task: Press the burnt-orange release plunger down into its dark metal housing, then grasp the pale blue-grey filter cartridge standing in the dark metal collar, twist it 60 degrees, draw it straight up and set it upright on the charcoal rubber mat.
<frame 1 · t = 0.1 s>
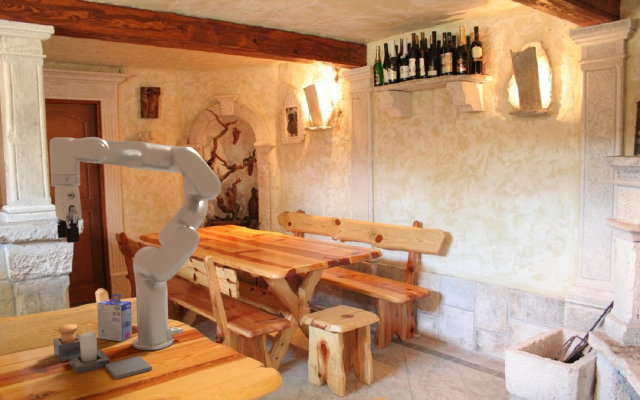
hand: (68, 239, 156), 37 cm above the table, tool pointing down, fingers open, 9 cm apart
plunger housing: (69, 355, 164), on the table
collar: (89, 364, 157), on the table
plunger: (68, 335, 163), point 6 cm above the table, slide at 0.0 cm
cartridge: (88, 349, 157), in the collar
mat: (128, 368, 154), on the table
ink cartridge box: (115, 338, 179), on the table
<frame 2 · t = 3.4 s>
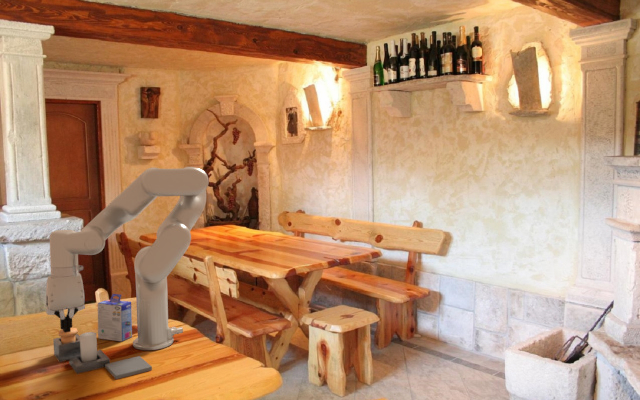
hand: (66, 330, 163), 8 cm above the table, tool pointing down, fingers closed
plunger: (68, 339, 163), point 5 cm above the table, slide at 1.2 cm, touching gripper
everything else where it was.
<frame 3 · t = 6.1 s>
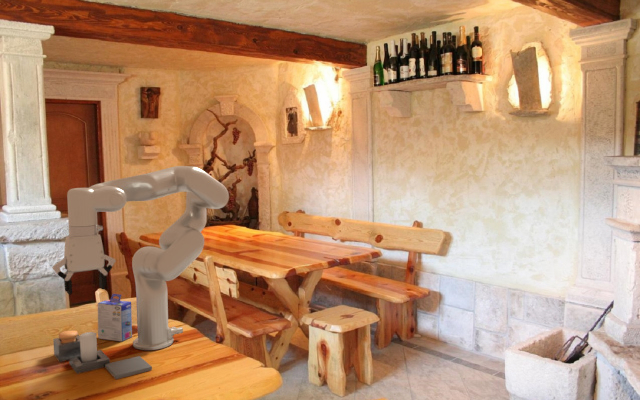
hand: (86, 290, 155), 22 cm above the table, tool pointing down, fingers open, 8 cm apart
plunger: (68, 342, 163), point 4 cm above the table, slide at 2.0 cm
everything else where it was.
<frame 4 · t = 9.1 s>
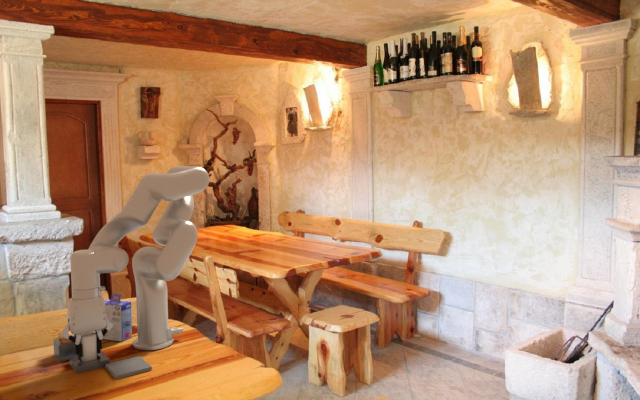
hand: (88, 353, 157), 3 cm above the table, tool pointing down, fingers closed on cartridge, 4 cm apart
cartridge: (88, 349, 157), in the collar, touching gripper
everything else where it was.
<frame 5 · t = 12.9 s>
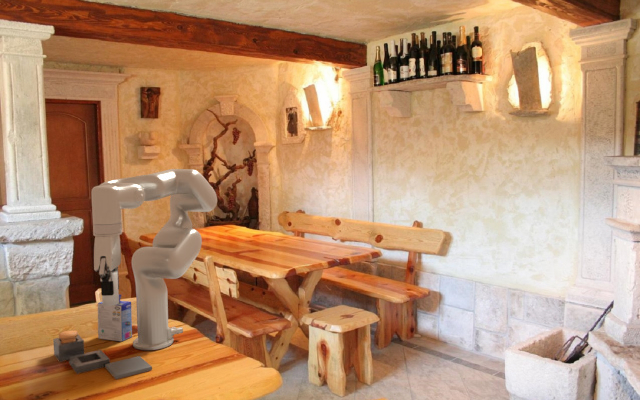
hand: (110, 292, 153), 22 cm above the table, tool pointing down, fingers closed on cartridge, 4 cm apart
cartridge: (110, 288, 153), point 23 cm above the table, touching gripper
everything else where it was.
when the fingers open (6 cm above the table, at t = 16.7 s): cartridge drops 2 cm, resting on mat.
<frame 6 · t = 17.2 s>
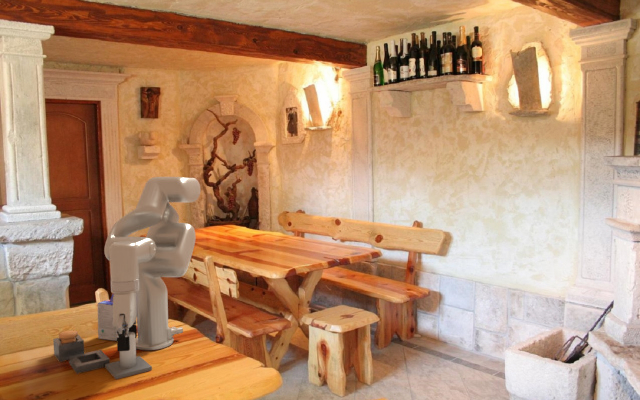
hand: (127, 344, 153), 7 cm above the table, tool pointing down, fingers open, 9 cm apart
cartridge: (127, 350, 154), on the mat, point 6 cm above the table
everything else where it was.
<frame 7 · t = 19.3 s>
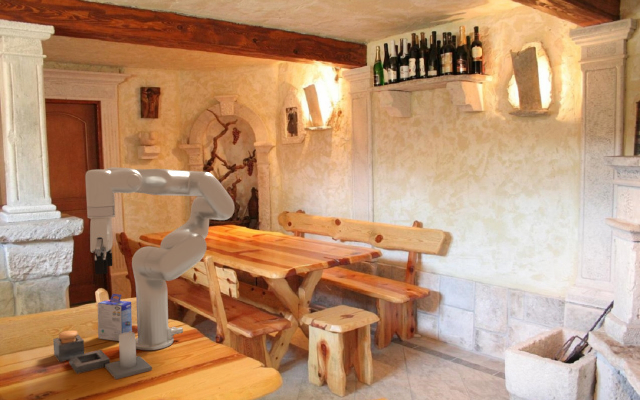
hand: (104, 269, 158), 27 cm above the table, tool pointing down, fingers open, 9 cm apart
nothing on the table moved.
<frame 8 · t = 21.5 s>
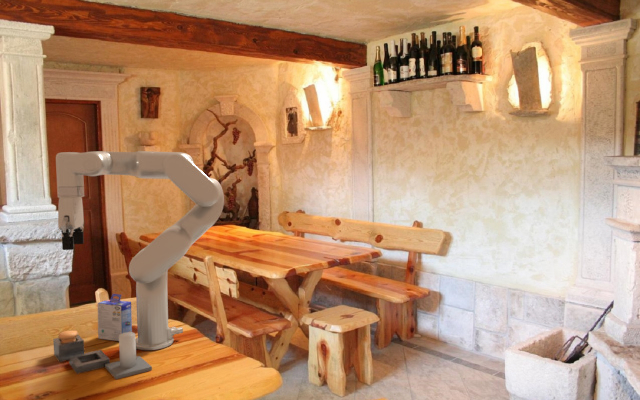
hand: (73, 246, 168), 32 cm above the table, tool pointing down, fingers open, 9 cm apart
nothing on the table moved.
at the end: plunger slide at 2.0 cm; cartridge inside the target area (0.2 cm from its centre), point 5.5 cm above the table; cartridge tilted 0° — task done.
